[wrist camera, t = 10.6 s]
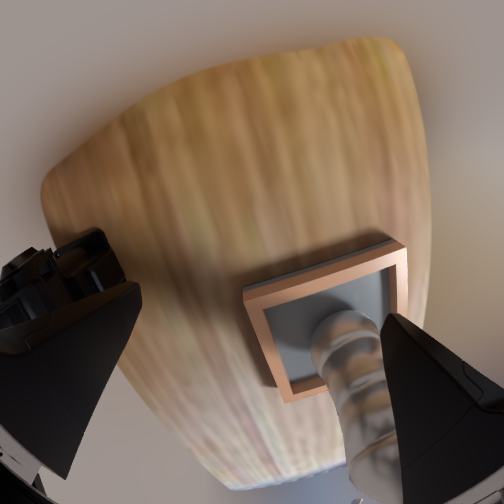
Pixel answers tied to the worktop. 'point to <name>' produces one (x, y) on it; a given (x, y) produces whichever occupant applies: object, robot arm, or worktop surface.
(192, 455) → the worktop surface
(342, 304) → the tray
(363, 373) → the silver tall hollow piece
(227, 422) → the worktop surface
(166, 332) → the worktop surface
